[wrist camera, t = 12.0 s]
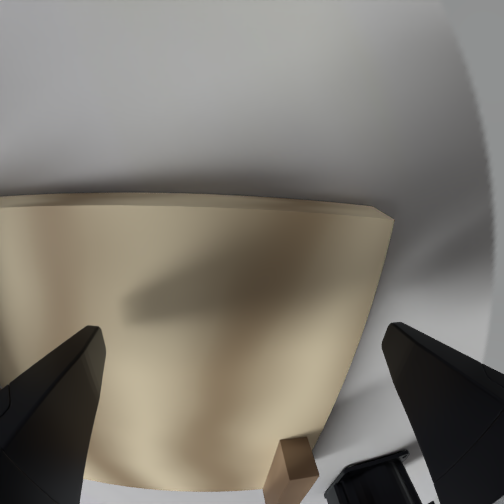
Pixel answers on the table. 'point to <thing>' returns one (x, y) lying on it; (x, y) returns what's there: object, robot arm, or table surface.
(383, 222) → the board
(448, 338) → the table surface
